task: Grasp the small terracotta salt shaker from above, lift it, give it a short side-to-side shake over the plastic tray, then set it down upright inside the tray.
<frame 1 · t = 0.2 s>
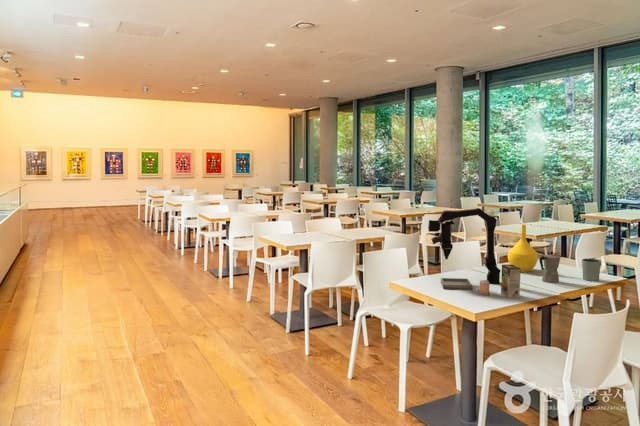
hand: (445, 257, 294), 15 cm above the table, fingers open, 9 cm apart
coffee box: (510, 296, 265), on the table
coffeepot: (549, 281, 294), on the table
shaker: (484, 293, 268), on the table
vase: (522, 270, 324), on the table
grey plant pot: (590, 280, 297), on the table
tray: (455, 285, 286), on the table
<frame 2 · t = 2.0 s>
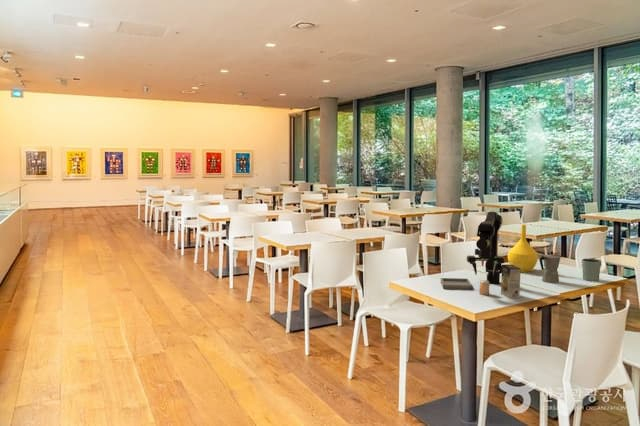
hand: (484, 274, 267), 10 cm above the table, fingers open, 9 cm apart
nothing on the table moved.
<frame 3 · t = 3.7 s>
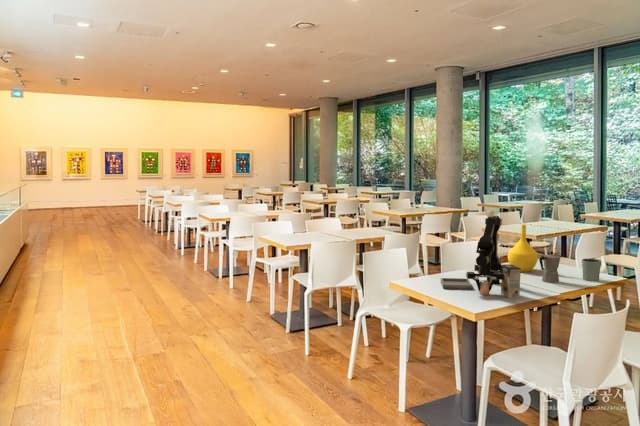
hand: (484, 291, 268), 2 cm above the table, fingers closed on shaker, 5 cm apart
shaker: (484, 293, 268), on the table, touching gripper
everything else where it was.
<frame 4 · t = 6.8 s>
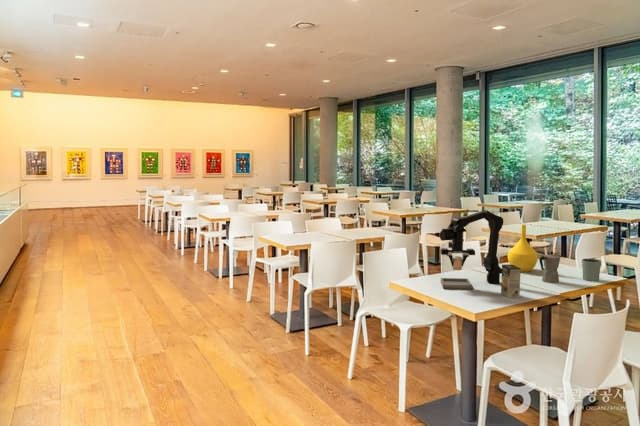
hand: (457, 266, 284), 12 cm above the table, fingers closed on shaker, 5 cm apart
shaker: (457, 269, 284), point 10 cm above the table, touching gripper
everything else where it was.
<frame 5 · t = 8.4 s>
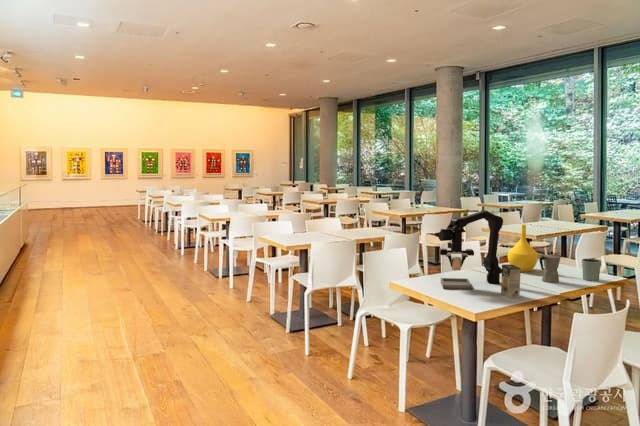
hand: (456, 266, 285), 11 cm above the table, fingers closed on shaker, 5 cm apart
shaker: (456, 269, 285), point 10 cm above the table, touching gripper
everything else where it was.
when the fingers open (4 cm above the table, at t = 10.0 s): shaker drops 1 cm, resting on tray.
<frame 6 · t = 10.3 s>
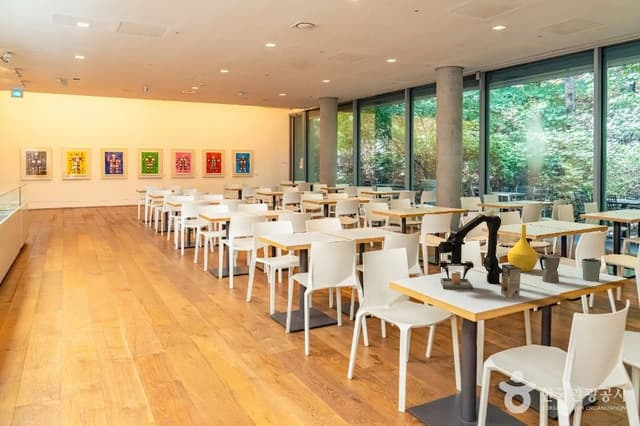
hand: (455, 279, 286), 4 cm above the table, fingers open, 8 cm apart
shaker: (455, 284, 286), point 1 cm above the table, touching tray
everything else where it was.
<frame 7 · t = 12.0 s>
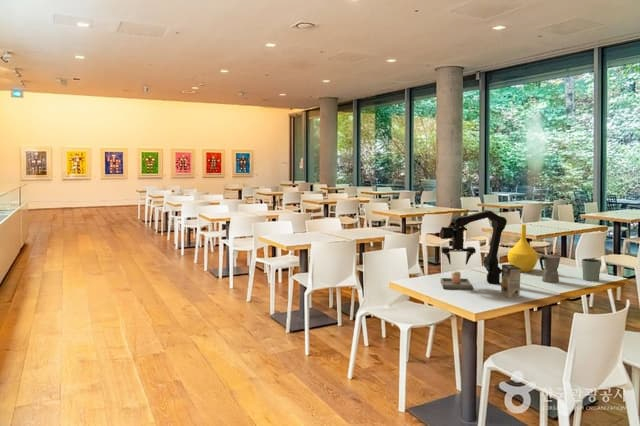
hand: (458, 264, 288), 12 cm above the table, fingers open, 9 cm apart
nothing on the table moved.
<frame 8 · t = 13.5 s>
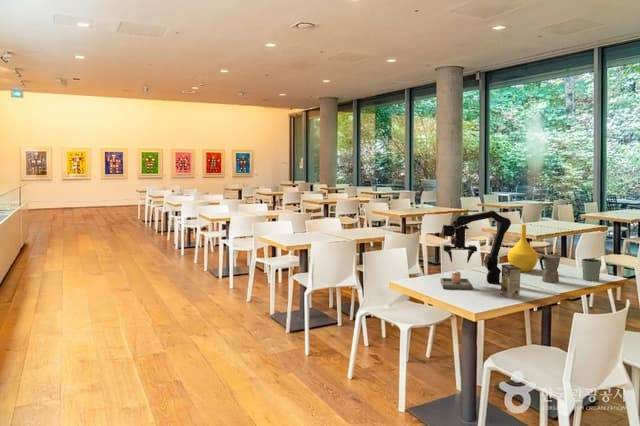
hand: (459, 262, 292), 12 cm above the table, fingers open, 9 cm apart
nothing on the table moved.
at the end: shaker inside the target area on the tray (0.1 cm from its centre), point 1.0 cm above the tray's base; shaker tilted 0°; the gripper is holding nothing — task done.
